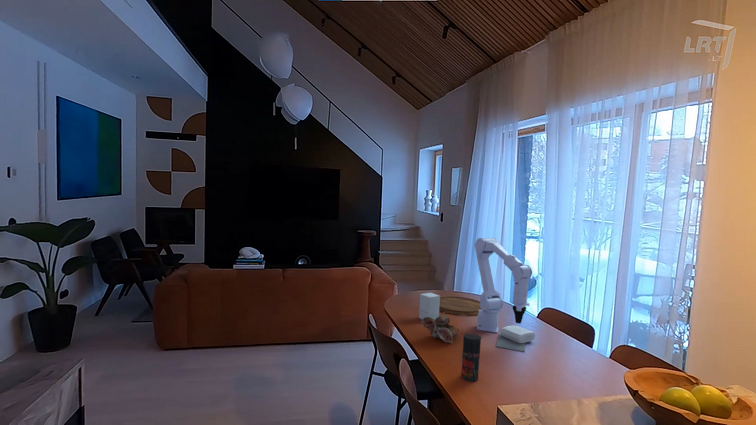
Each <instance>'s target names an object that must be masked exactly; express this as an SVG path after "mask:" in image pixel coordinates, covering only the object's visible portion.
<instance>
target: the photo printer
mask: <svg viewBox="0 0 756 425" xmlns="http://www.w3.org/2000/svg"><path fill="white" fill-rule="evenodd" d="M500 334H501V335H502V336H504V337H506V338H508V339H511V340H513V341H515V342H518V343H525V344H526V343H530V342H533V341H534V340H535V339H536V334H535V332H534V331H531V330H529V329H526V328H523V327H521V326H518V325H508V326H504V327H502V328H501V329H500Z"/></svg>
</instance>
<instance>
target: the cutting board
mask: <svg viewBox="0 0 756 425" xmlns="http://www.w3.org/2000/svg"><path fill="white" fill-rule="evenodd" d="M479 310H482V309H481V307H480V300H477V299H473V298H468V297H463V296H452V295H451V296H450V295H449V296H440V304H439V312H440V311H442V312H441V313H443V312H445V313H444V314H447V313H450V314H449V315H451V314H455V315H454V316H458V315H466V316H465V317H478V316H477V315H478V312H479Z"/></svg>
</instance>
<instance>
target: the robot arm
mask: <svg viewBox="0 0 756 425" xmlns="http://www.w3.org/2000/svg"><path fill="white" fill-rule="evenodd" d="M474 248H475V252H476V254H475V255H476V260H477V264H478V265H477V266H478V271H479V276H480V281H481V287H482V290H483V292H482V293H481V294H480V295H479V301H480V307H481V309H482V310H479V312H478V316H477V323H476V324H477V326H476V330H478V331H484V332H490V333H496V334H498V332H499V329H500V327H499V326H498V324H499V313H500V312H501V310H502V309H503V305H504V302H503V299H502V298H501V295H500V293H499V292H498V291H497V290H496V288H495V285H494V278H493V274H492V269H491V264H490V257H491V255H493V254H494V253H495V254H496V255H497V256H498V257H500V259H501V260H503V265H504V266H506V267H507V268H508V269H509V270H510V272H511V274H512V277H513V281H514V282H513V297H512V299H513V300H512V302H511V303H512V304H513V305H512V310H513V313H514V318H515V323H516V324H522V320H523V318H524V314H525V313H526V312H527V307H529V306H530V303H529V302H528V291H529V279H530V278H532V275H533V270H532V267H530V265H529V264H524V263H523V261H520V260H519V259H518V258H517V256H516V255H514V254H509V253H508V251H506V249H505V248H504V247H503V246H502V245H501V244H500V241H499V240H498V239H497V238H496V237H479V238H477V239H476V241H475V243H474ZM526 306H527V307H526Z"/></svg>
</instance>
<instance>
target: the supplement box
mask: <svg viewBox="0 0 756 425" xmlns="http://www.w3.org/2000/svg"><path fill="white" fill-rule="evenodd" d="M440 297H441V295H440V294H436V293H433V292H425V293H424V292H423V293H420V295H419V308H418V309H419V312H418V318H419V319H420V320H421V321H422V320H423V319H424V318H426V317H430V318H432V319H434V320H435V319H436V318H437V317H439V316H440V311H439V304H440Z"/></svg>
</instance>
